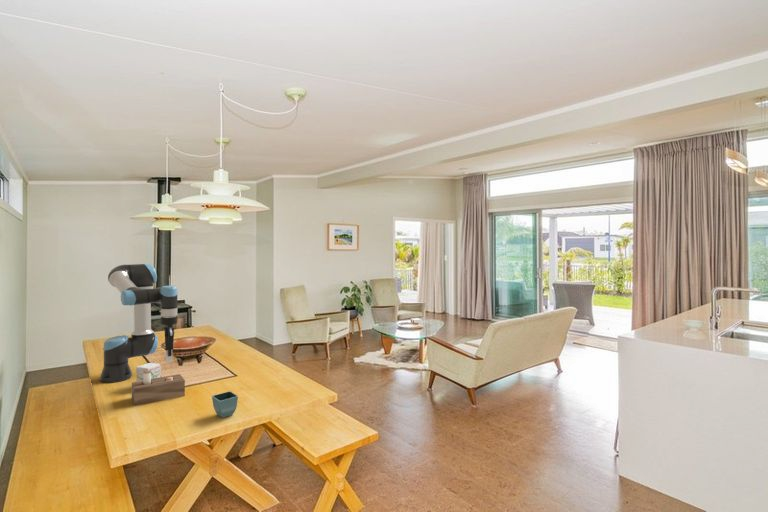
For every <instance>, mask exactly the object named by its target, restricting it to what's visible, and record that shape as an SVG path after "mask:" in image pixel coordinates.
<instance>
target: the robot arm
mask: <svg viewBox="0 0 768 512" xmlns="http://www.w3.org/2000/svg"><path fill="white" fill-rule="evenodd" d="M157 279H158V275H157V271H156V268H155V267H154V265H153V264H151V263H138V264H137V263H136V264H135V263H133V264H121V265H118V266H115V267H114V268H112V269H111V270H110V272H108V276H107V280H108V282H109V285H111V286H112V287H114V288H116V289H117V290H118V292H119V293H120V301H121V305H123V306H133V322H134V323H133V325H134V326H133V332H132V333H131V336H130V337H129V336H128V335H125V334H124V335H123V334H122V335H117V336H113V337H109V338H108V339H105V340H104V342H103V348H102V350H103V367H102V371H101V373H100V375H99V380H100V382H101V383H106V384H107V383H117V382H118V383H119V382H122V381H126V380H128V379H131V378H132V376H133V373H132V370H131V367H130V364H129V359H131V358H137V357H142V356H148V355H153V354H154V353H155V352H156V351H157V350H158V346H159V339H158V335H157V334H156V333H155V331H154V330H153V329H152V313H151V312H152V311H151V310H152V307H151V306H152V305H151V304H160V310H159V313H160V325H162V326H164V328H163V330H164V347H165V348H164V350H165V362H166V363H172V362H173V349H174V342H175V341H174V337H175V327H173V326H174V325H176V324H178V295H179V294H178V293H179V292H178V287H177V286H176V285H163V286H159V287H156V288H153V287H154V284H156V283H157Z"/></svg>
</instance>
